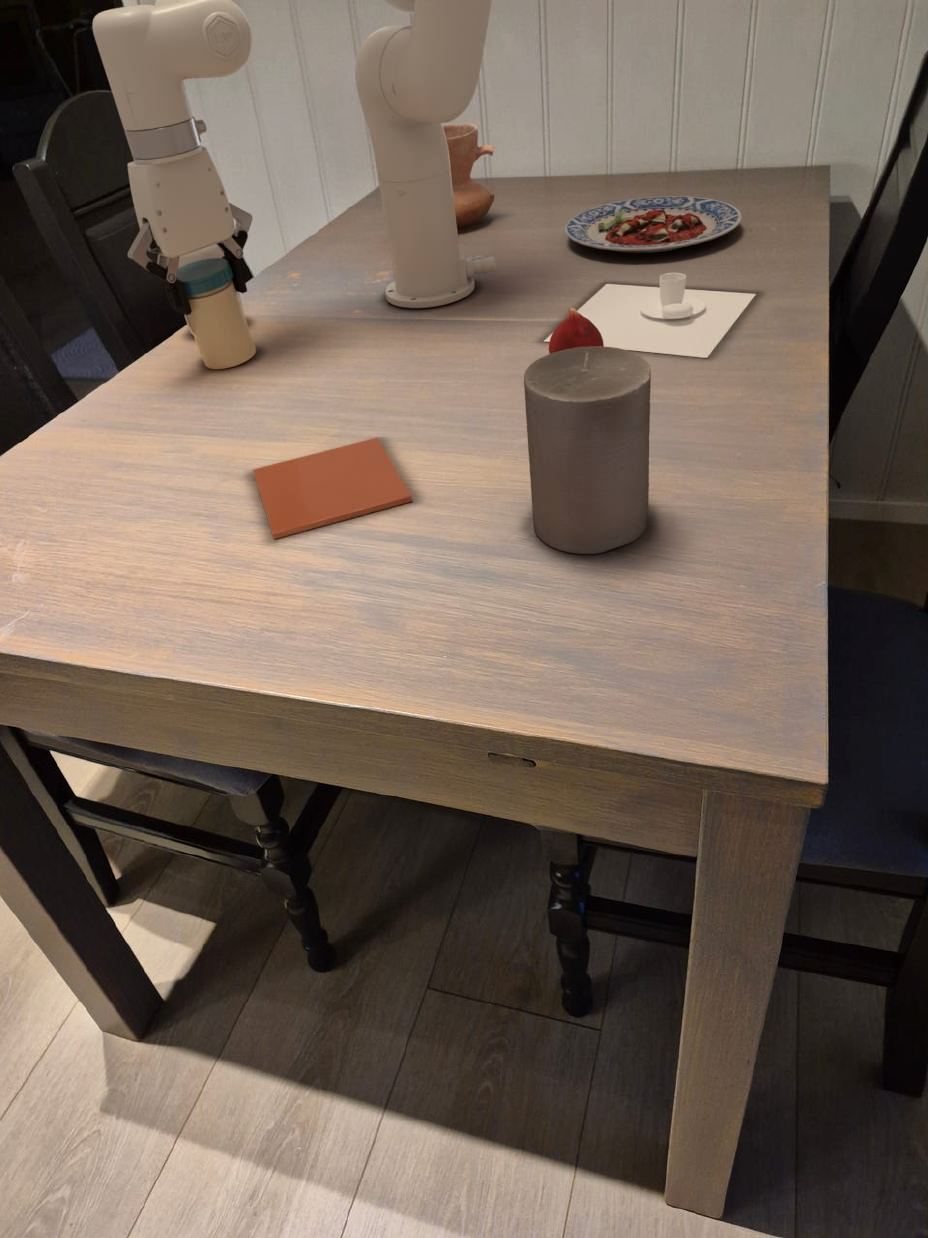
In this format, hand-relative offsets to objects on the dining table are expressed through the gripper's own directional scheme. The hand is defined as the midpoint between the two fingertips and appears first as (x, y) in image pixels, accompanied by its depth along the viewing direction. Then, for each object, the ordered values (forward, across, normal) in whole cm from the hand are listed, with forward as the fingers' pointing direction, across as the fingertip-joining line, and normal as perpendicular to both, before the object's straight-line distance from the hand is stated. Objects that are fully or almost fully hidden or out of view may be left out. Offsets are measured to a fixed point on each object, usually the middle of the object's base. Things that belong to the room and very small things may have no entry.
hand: (211, 300), depth 109 cm
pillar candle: (+8, +2, +61) cm, 62 cm away
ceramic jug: (+8, -55, -17) cm, 58 cm away
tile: (+8, +12, +37) cm, 40 cm away
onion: (+8, -19, +42) cm, 47 cm away
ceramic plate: (+8, -64, +19) cm, 67 cm away
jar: (+8, -1, -1) cm, 8 cm away
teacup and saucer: (+8, -38, +38) cm, 54 cm away
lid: (-3, 0, -1) cm, 3 cm away
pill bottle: (+8, -6, -12) cm, 15 cm away
